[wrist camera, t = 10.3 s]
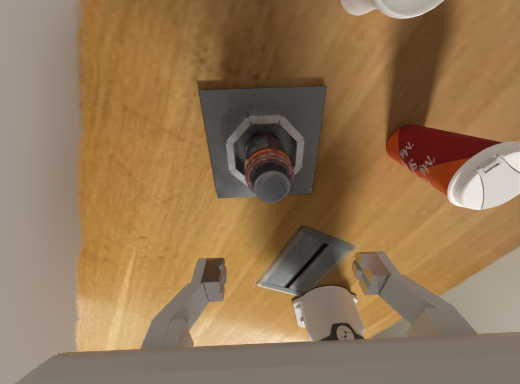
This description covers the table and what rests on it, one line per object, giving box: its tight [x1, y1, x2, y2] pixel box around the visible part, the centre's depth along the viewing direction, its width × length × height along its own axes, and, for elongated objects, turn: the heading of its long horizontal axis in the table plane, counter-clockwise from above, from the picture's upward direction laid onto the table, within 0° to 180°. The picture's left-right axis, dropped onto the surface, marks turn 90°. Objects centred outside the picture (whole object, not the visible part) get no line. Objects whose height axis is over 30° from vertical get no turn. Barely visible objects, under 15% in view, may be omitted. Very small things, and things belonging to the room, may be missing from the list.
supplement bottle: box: [245, 133, 294, 203], centre depth 25 cm, size 6×6×11 cm
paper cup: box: [386, 125, 520, 210], centre depth 25 cm, size 8×8×14 cm
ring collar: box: [199, 86, 327, 198], centre depth 29 cm, size 17×17×4 cm
